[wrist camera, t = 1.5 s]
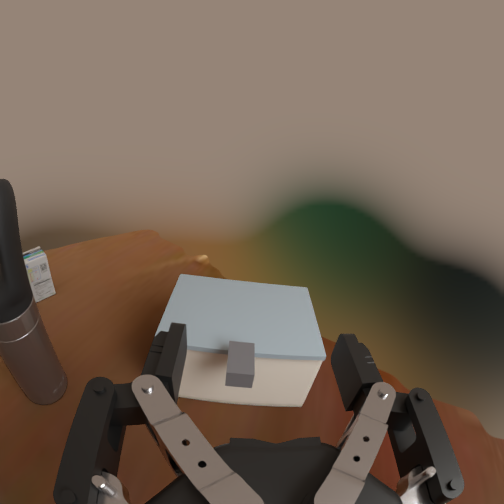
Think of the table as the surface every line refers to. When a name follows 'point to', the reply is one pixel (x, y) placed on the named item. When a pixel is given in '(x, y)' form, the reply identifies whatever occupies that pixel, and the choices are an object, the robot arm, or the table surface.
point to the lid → (244, 322)
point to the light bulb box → (38, 273)
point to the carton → (264, 384)
